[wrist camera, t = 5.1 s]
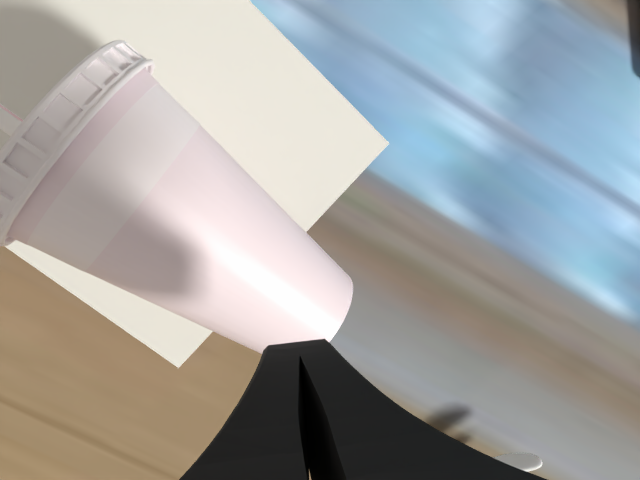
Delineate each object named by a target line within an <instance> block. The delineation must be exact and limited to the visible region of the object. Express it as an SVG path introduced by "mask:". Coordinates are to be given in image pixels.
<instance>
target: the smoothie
mask: <svg viewBox="0 0 640 480" xmlns="http://www.w3.org/2000/svg"><path fill="white" fill-rule="evenodd" d="M154 68H155V65H154V61H153V60H152V59H149V60H147V59H146V58H145V57H144V56H142V55H141V54H140V53H139V52H138V51H136V50H135V49H134V48H133V47H132V46H130V45H129V44H128V43H127V42H126V41H124V40H116V41H111V42H109V43H107V44H105V45H103V46H101V47H99V48H98V49H97V50H95V51H94V52H92V53H91V54H89V55H88V56H87V57H85V58H84V59H83V60H82V61H81V62H80V63H78V64H77V65H76V66H75V67H74V68H73V69H71V70H70V71H69V72H68V73H67V74H66V75H65V76H64V77H63V78H62V79H61V80H60V81H59V82H58V83H57V84H56V85H55V86H54V87H53V88H52V89H51V90H50V91H49V92H48V93H47V94H46V95H45V96H44V97H43V99H42V100H41V101H40V102H39V103H38V104H37V105H36V106H35V107H34V108H33V110H32V111H31V112H30V113H29V114H28V115H27V117H26V118H25V119H24V120H23V119H21V118H20V117H19V116H17V115H16V114H14V113H13V112H12V111H10V110H9V109H7V108H6V107H4V106H3V105H2V104H0V129H1V130H2V131H4V132H5V133H7V134H8V135H9V136H10V138H9V139H8V140H7V142H6V143H5V144H4V146H3V147H2V148H1V150H0V246H8V245H10V244H11V243H13V242H14V241H16V240H17V241H20V242H22V243H24V244H26V245H29V246H31V247H33V248H35V249H38V250H40V251H42V252H44V253H46V254H48V255H50V256H52V257H54V258H56V259H58V260H60V261H62V262H64V263H67V264H69V265H71V266H73V267H75V268H77V269H79V270H81V271H83V272H86V273H89V274H91V275H93V276H95V277H97V278H99V279H102V280H104V281H106V282H108V283H110V284H112V285H114V286H117V287H119V288H121V289H123V290H125V291H127V292H130V293H132V294H134V295H136V296H138V297H140V298H142V299H145V300H147V301H149V302H151V303H153V304H155V305H158V306H160V307H162V308H164V309H166V310H168V311H171V312H173V313H175V314H177V315H179V316H181V317H183V318H186V319H188V320H190V321H192V322H194V323H196V324H199V325H201V326H203V327H205V328H207V329H209V330H211V331H214V332H216V333H218V334H220V335H222V336H224V337H227V338H229V339H231V340H233V341H235V342H237V343H240V344H242V345H244V346H246V347H248V348H250V349H252V350H255V351H257V352H259V353H261V354H262V353H263V350H264V349H265V348H266V347H267V346H268V345H274V344H283V343H292V342H300V341H309V340H317V339H326V340H327V341H328V342H330V340H331V339H332V338H333V337H334V335H335V334H336V332H337V331H338V329H339V328H340V326H341V324H342V322H343V321H344V319H345V317H346V314H347V312H348V310H349V307H350V304H351V300H352V295H353V283H352V280H351V278H350V277H349V276H348V275H347V274H346V273H345V272H344V271H343V270H342V268H341V267H340V266H339V265H338V264H337V263H336V262H335V261H334V260H333V259H332V258H331V257H330V256H329V255H328V254H327V253H326V252H325V251H324V250H323V249H322V248H321V247H320V246H319V245H318V244H317V243H316V242H315V241H314V240H313V239H312V238H311V237H310V236H309V235H308V234H307V233H306V232H305V231H304V230H303V229H302V228H301V227H300V226H299V225H298V224H297V223H296V222H295V221H294V220H293V219H292V218H291V217H290V216H289V215H288V214H287V213H286V212H285V211H284V209H283V208H282V207H281V206H280V205H279V204H278V203H277V202H276V201H275V200H274V199H273V198H272V197H271V196H270V195H269V194H268V193H267V192H266V191H265V190H264V189H263V188H262V187H261V186H260V185H259V184H258V183H257V182H256V181H255V180H254V179H253V178H252V177H251V176H250V175H249V174H248V173H247V172H246V171H245V170H244V169H243V168H242V167H241V166H240V165H239V164H238V163H237V162H236V161H235V160H234V159H233V158H232V157H231V156H230V155H229V154H228V153H227V152H226V151H225V149H224V148H223V147H222V146H221V145H220V144H219V143H218V142H217V141H216V140H215V139H214V138H213V137H212V136H211V135H210V134H209V133H208V132H207V131H206V130H205V129H204V128H203V127H202V126H201V125H200V123H199V122H198V121H197V120H196V119H195V118H194V117H192V116H191V115H190V114H189V113H188V112H187V111H186V110H185V109H184V108H183V107H182V106H181V105H180V104H179V103H178V102H177V101H176V100H175V99H174V98H173V97H172V96H171V95H170V94H169V93H168V92H167V91H166V90H165V89H164V88H163V87H162V86H161V85H160V83H159V82H158V81H157V80H156V79H155V78H154V77H153V76H152V74H153V71H154Z"/></svg>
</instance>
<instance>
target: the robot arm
mask: <svg viewBox="0 0 640 480" xmlns="http://www.w3.org/2000/svg"><path fill="white" fill-rule="evenodd" d="M309 470H310V475H311V479H312V480H547V479H544V478H542V477H539V476H536V475H534V474H531V473H529V472H526V471H523V470H521V469H518V468H516V467H513V466H511V465H508V464H506V463H504V462H501V461H499V460H497V459H494V458H492V457H490V456H488V455H485V454H483V453H481V452H479V451H477V450H475V449H473V448H471V447H469V446H467V445H465V444H463V443H461V442H459V441H457V440H455V439H453V438H451V437H449V436H447V435H446V434H444V433H442V432H440V431H438V430H437V429H435V428H433V427H432V426H430V425H428V424H427V423H425V422H424V421H422V420H420V419H419V418H417V417H415V416H414V415H412V414H411V413H409V412H408V411H406V410H405V409H403V408H402V407H400V406H399V405H397V404H396V403H395V402H393V401H392V400H391V399H390V398H388V397H387V396H386V395H384V394H383V393H382V392H381V391H379V390H378V389H377V388H376V387H375V386H373V385H372V384H371V383H370V382H369V381H368V380H367V379H366V378H364V377H363V376H362V375H361V374H360V373H359V372H358V371H357V370H356V369H355V368H353V367H352V366H351V365H350V364H349V363H348V362H347V361H346V360H345V359H344V358H343V357H342V356H341V355H340V354H339V352H338V351H337V350H336V349H335V348H334V347H333V346H332V345H331V344H330V343H329V342H328V341H327V340H326V339H317V340H309V341H300V342H292V343H283V344H274V345H268V346H267V347H266V348H265V349H264V350H263V353H262V357H261V359H260V362H259V364H258V367H257V369H256V371H255V373H254V375H253V377H252V379H251V381H250V383H249V385H248V387H247V388H246V390H245V392H244V394H243V396H242V398H241V399H240V401H239V403H238V404H237V406H236V407H235V409H234V410H233V412H232V413H231V415H230V416H229V418H228V419H227V421H226V422H225V424H224V426H223V427H222V428H221V430H220V431H219V433H218V434H217V435H216V437H215V438H214V439H213V441H212V442H211V443H210V445H209V446H208V447H207V448H206V450H205V451H204V452H203V453H202V454H201V456H200V457H199V458H198V459H197V461H196V462H195V463H194V464H193V465H192V466H191V467H190V469H189V470H188V471H187V472H186V473H185V474H184V475H183V476H182V477H181V478H180V479H179V480H309Z"/></svg>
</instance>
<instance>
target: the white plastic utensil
mask: <svg viewBox="0 0 640 480" xmlns="http://www.w3.org/2000/svg"><path fill="white" fill-rule="evenodd" d="M493 458H494V459H497V460H499V461H501V462H504V463H506V464H508V465H511V466H513V467H516V468H518V469H521V470H523V471H526V472H528V471H532V470H535V469H538V468H539V467H541V466H542V464H543V463H542V461H541V459H540V458H539V457H537V456H536V455H533V454H530V453H510V454H504V455H500V456H497V457H493Z"/></svg>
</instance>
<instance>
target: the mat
mask: <svg viewBox="0 0 640 480" xmlns="http://www.w3.org/2000/svg"><path fill="white" fill-rule="evenodd" d="M116 40H124V41H126V42H127V43H128V44H129V45H130V46H132V47H133V48H134V49H135V50H136V51H138V52H139V53H140V54H141V55H142V56H144V57H145V58H146V59H147V60H149V59H152V60H153V61H154V65H155V68H154V71H153V74H152V76H153V77H154V78H155V79H156V80H157V81H158V82H159V83H160V85H161V86H162V87H163V88H164V89H165V90H166V91H167V92H168V93H169V94H170V95H171V96H172V97H173V98H174V99H175V100H176V101H177V102H178V103H179V104H180V105H181V106H182V107H183V108H184V109H185V110H186V111H187V112H188V113H189V114H190V115H191V116H192V117H194V118H195V119H196V120H197V121H198V122H199V123H200V125H201V126H202V127H203V128H204V129H205V130H206V131H207V132H208V133H209V134H210V135H211V136H212V137H213V138H214V139H215V140H216V141H217V142H218V143H219V144H220V145H221V146H222V147H223V148H224V149H225V151H226V152H227V153H228V154H229V155H230V156H231V157H232V158H233V159H234V160H235V161H236V162H237V163H238V164H239V165H240V166H241V167H242V168H243V169H244V170H245V171H246V172H247V173H248V174H249V175H250V176H251V177H252V178H253V179H254V180H255V181H256V182H257V183H258V184H259V185H260V186H261V187H262V188H263V189H264V190H265V191H266V192H267V193H268V194H269V195H270V196H271V197H272V198H273V199H274V200H275V201H276V202H277V203H278V204H279V205H280V206H281V207H282V208H283V209H284V211H285V212H286V213H287V214H288V215H289V216H290V217H291V218H292V219H293V220H294V221H295V222H296V223H297V224H298V225H299V226H300V227H301V228H302V229H303V230H304V231H305V232H307V230H308V229H309V228H310V227H311V226H312V225H313V224H314V223H315V222H316V221H317V220H318V219H319V218H320V217H321V216H322V214H323V213H324V212H325V211H326V210H327V209H328V208H329V207H330V206H331V205H332V204H333V203H334V202H335V201H336V200H337V198H338V197H339V196H340V195H341V194H342V193H343V192H344V191H345V190H346V189H347V188H348V187H349V186H350V185H351V184H352V182H353V181H354V180H355V179H356V178H357V177H358V176H359V175H360V174H361V173H362V172H363V171H364V170H365V169H366V168H367V166H368V165H369V164H370V163H371V162H372V161H373V160H374V159H375V158H376V157H377V156H378V155H379V154H380V153H381V152H382V151H383V149H384V148H385V147H386V146H387V145H388V144H389V142H388V141H387V140H386V139H385V138H384V137H383V136H382V135H381V134H380V133H379V132H378V131H377V130H376V129H375V128H374V127H373V126H372V125H371V124H370V123H369V122H368V121H367V120H366V119H365V118H364V117H363V116H362V115H361V114H360V113H359V112H358V111H357V110H356V109H355V108H354V107H353V106H352V105H351V104H350V103H349V102H348V101H347V100H346V99H345V98H344V97H343V96H342V94H341V93H340V92H339V91H338V90H337V89H336V88H335V87H334V86H333V85H332V84H331V83H330V82H329V81H328V80H327V79H326V78H325V77H324V76H323V75H322V74H321V73H320V72H319V71H318V70H317V69H316V68H315V67H314V66H313V65H312V64H311V63H310V62H309V61H308V60H307V59H306V58H305V57H304V56H303V55H302V54H301V53H300V52H299V51H298V50H297V49H296V48H295V46H294V45H293V44H292V43H291V42H290V41H289V40H288V39H287V38H286V37H285V36H284V35H283V34H282V33H281V32H280V31H279V30H278V29H277V28H276V27H275V26H274V25H273V24H272V23H271V22H270V21H269V20H268V19H267V18H266V17H265V16H264V15H263V14H262V13H261V12H260V11H259V10H258V9H257V8H256V7H255V6H254V5H253V4H252V3H251V2H250V1H249V0H0V104H2V105H3V106H4V107H6V108H7V109H9V110H10V111H12V112H13V113H14V114H16V115H17V116H19V117H20V118H21V119H23V120H24V119H25V118H26V117H27V115H28V114H29V113H30V112H31V111H32V110H33V108H34V107H35V106H36V105H37V104H38V103H39V102H40V101H41V100H42V99H43V97H44V96H45V95H46V94H47V93H48V92H49V91H50V90H51V89H52V88H53V87H54V86H55V85H56V84H57V83H58V82H59V81H60V80H61V79H62V78H63V77H64V76H65V75H66V74H67V73H68V72H69V71H70V70H71V69H73V68H74V67H75V66H76V65H77V64H78V63H80V62H81V61H82V60H83V59H84V58H85V57H87V56H88V55H89V54H91V53H92V52H94V51H95V50H97V49H98V48H99V47H101V46H103V45H105V44H107V43H109V42H111V41H116ZM9 138H10V136H9V135H8V134H7V133H5V132H4V131H2V130H1V129H0V150H1V148H2V147H3V146H4V144H5V143H6V142H7V140H8V139H9ZM5 247H6V248H8V249H9V250H11V251H12V252H14V253H15V254H16V255H18V256H19V257H21V258H22V259H24V260H25V261H26V262H28V263H29V264H31V265H32V266H34V267H35V268H36V269H38V270H39V271H41V272H42V273H44V274H45V275H46V276H48V277H49V278H51V279H52V280H54V281H55V282H56V283H58V284H59V285H61V286H62V287H64V288H65V289H66V290H68V291H69V292H71V293H72V294H74V295H75V296H76V297H78V298H79V299H81V300H82V301H84V302H85V303H86V304H88V305H89V306H91V307H92V308H94V309H95V310H96V311H98V312H99V313H101V314H102V315H104V316H105V317H106V318H108V319H109V320H111V321H112V322H114V323H115V324H116V325H118V326H119V327H121V328H122V329H124V330H125V331H126V332H128V333H129V334H131V335H132V336H134V337H135V338H136V339H138V340H139V341H141V342H142V343H144V344H145V345H146V346H148V347H149V348H151V349H152V350H154V351H155V352H156V353H158V354H159V355H161V356H162V357H164V358H165V359H166V360H168V361H169V362H171V363H172V364H174V365H175V366H176V367H178V368H179V367H180V366H181V365H182V364H183V363H184V362H185V360H186V359H187V358H188V357H189V356H190V355H191V354H192V353H193V352H194V351H195V350H196V349H197V348H198V347H199V346H200V344H201V343H202V342H203V341H204V340H205V339H206V338H207V337H208V336H209V335H210V334H211V333H212V332H213V331H211V330H209V329H207V328H205V327H203V326H201V325H199V324H196V323H194V322H192V321H190V320H188V319H186V318H183V317H181V316H179V315H177V314H175V313H173V312H171V311H168V310H166V309H164V308H162V307H160V306H158V305H155V304H153V303H151V302H149V301H147V300H145V299H142V298H140V297H138V296H136V295H134V294H132V293H130V292H127V291H125V290H123V289H121V288H119V287H117V286H114V285H112V284H110V283H108V282H106V281H104V280H102V279H99V278H97V277H95V276H93V275H91V274H89V273H86V272H83V271H81V270H79V269H77V268H75V267H73V266H71V265H69V264H67V263H64V262H62V261H60V260H58V259H56V258H54V257H52V256H50V255H48V254H46V253H44V252H42V251H40V250H38V249H35V248H33V247H31V246H29V245H26V244H24V243H22V242H20V241H17V240H16V241H14V242H13V243H11V244H10V245H8V246H5Z"/></svg>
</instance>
